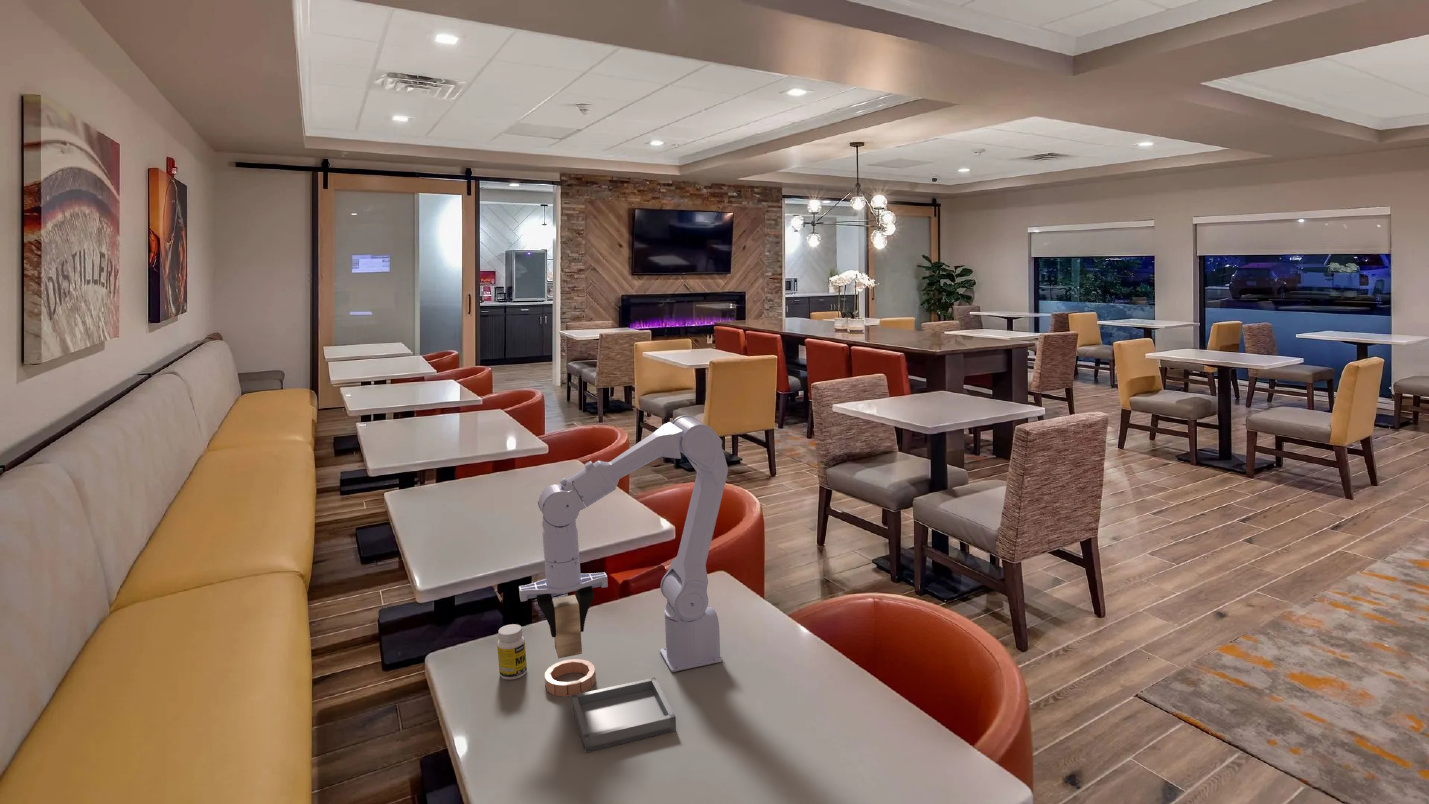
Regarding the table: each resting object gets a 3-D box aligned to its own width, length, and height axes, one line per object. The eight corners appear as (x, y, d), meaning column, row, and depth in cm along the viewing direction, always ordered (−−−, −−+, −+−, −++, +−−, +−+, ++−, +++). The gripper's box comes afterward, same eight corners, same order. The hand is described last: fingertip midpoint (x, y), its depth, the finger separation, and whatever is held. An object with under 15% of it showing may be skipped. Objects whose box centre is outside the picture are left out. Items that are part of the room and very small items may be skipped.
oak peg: (578, 643, 131) (574, 594, 129) (582, 653, 127) (578, 604, 125) (555, 647, 129) (551, 598, 128) (558, 658, 125) (554, 608, 124)
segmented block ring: (590, 665, 134) (589, 655, 134) (599, 689, 127) (598, 679, 126) (543, 675, 132) (542, 664, 131) (549, 700, 124) (548, 689, 123)
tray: (655, 690, 126) (655, 677, 125) (676, 730, 115) (675, 716, 114) (572, 708, 121) (571, 695, 121) (585, 752, 110) (584, 738, 110)
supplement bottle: (519, 681, 130) (516, 636, 128) (494, 679, 131) (490, 634, 129) (531, 667, 134) (528, 623, 133) (507, 665, 135) (503, 622, 134)
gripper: (600, 542, 131) (604, 614, 133) (515, 554, 126) (521, 629, 129) (608, 556, 124) (612, 631, 127) (519, 570, 120) (525, 648, 122)
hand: (567, 632), depth 127 cm, fingers closed on oak peg, 4 cm apart
